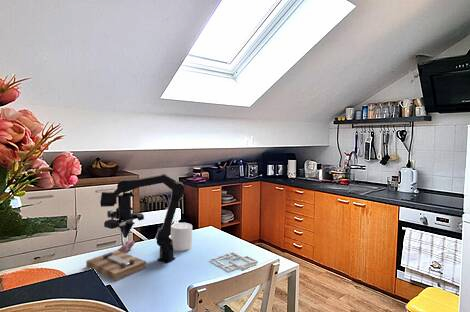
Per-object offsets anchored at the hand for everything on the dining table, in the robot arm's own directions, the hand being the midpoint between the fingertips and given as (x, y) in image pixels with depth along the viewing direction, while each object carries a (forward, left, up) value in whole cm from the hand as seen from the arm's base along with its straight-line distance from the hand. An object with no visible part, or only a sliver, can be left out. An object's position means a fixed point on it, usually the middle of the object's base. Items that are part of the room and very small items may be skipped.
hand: (125, 237), depth 144 cm
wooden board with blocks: (-1, +6, -12) cm, 14 cm away
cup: (-7, -31, -12) cm, 34 cm away
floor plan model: (-44, -35, -13) cm, 57 cm away
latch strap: (-3, +6, -9) cm, 11 cm away
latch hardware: (-2, +6, -9) cm, 11 cm away
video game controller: (+11, -9, -13) cm, 19 cm away
